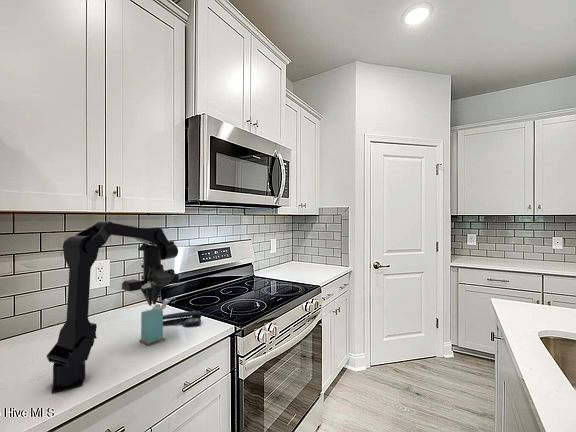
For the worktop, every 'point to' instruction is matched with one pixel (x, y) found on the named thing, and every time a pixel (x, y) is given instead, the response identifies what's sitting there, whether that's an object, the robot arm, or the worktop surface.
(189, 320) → the can opener
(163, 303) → the light grey forked piece
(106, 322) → the worktop surface
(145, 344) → the brown pedestal
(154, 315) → the teal rectangular block
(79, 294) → the robot arm
